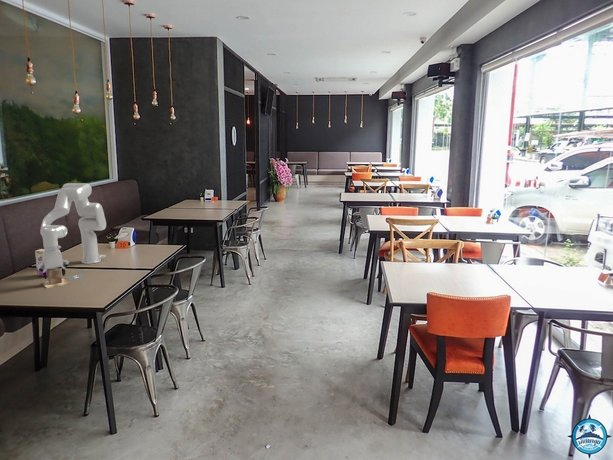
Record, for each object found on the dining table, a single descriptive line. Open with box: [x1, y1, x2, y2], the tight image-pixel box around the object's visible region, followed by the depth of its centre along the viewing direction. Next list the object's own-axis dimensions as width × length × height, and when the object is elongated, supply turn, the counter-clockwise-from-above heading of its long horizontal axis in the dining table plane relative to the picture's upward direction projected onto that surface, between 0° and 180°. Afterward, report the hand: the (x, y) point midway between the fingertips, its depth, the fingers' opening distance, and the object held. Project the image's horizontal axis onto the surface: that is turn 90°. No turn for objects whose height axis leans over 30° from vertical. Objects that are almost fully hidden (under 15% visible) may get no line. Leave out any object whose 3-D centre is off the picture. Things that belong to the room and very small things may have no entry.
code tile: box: [66, 273, 86, 281], centre depth 296 cm, size 9×9×1 cm
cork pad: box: [41, 278, 70, 289], centre depth 282 cm, size 12×12×1 cm
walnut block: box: [47, 267, 63, 285], centre depth 282 cm, size 6×6×8 cm
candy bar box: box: [34, 248, 53, 278], centre depth 298 cm, size 11×5×16 cm, turn 71°
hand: (54, 276), depth 282 cm, fingers open, 9 cm apart
